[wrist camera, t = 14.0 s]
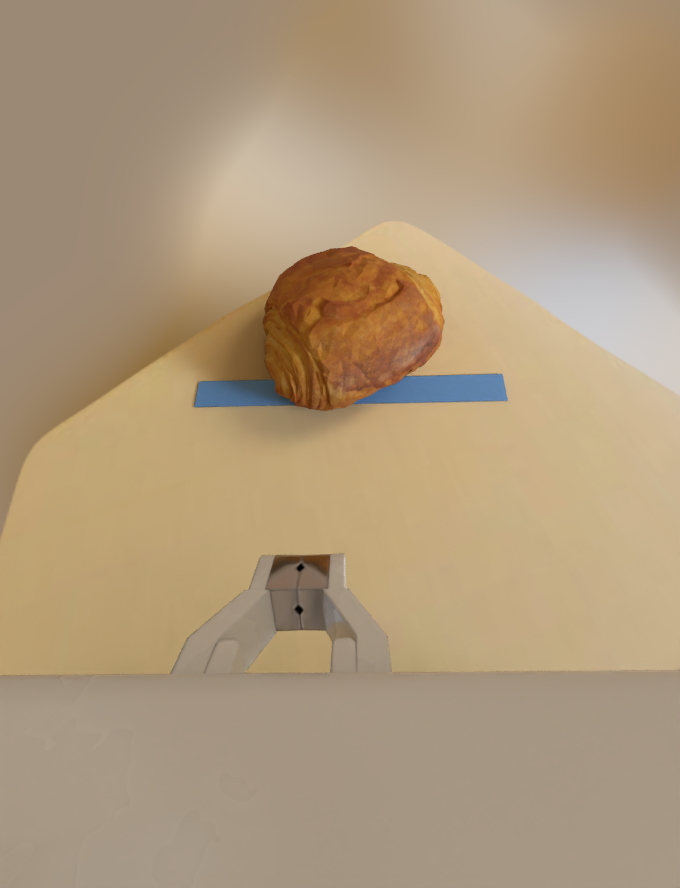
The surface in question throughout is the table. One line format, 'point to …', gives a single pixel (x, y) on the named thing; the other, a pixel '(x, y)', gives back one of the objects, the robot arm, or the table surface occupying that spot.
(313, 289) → the croissant
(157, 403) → the table surface
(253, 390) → the tape line
